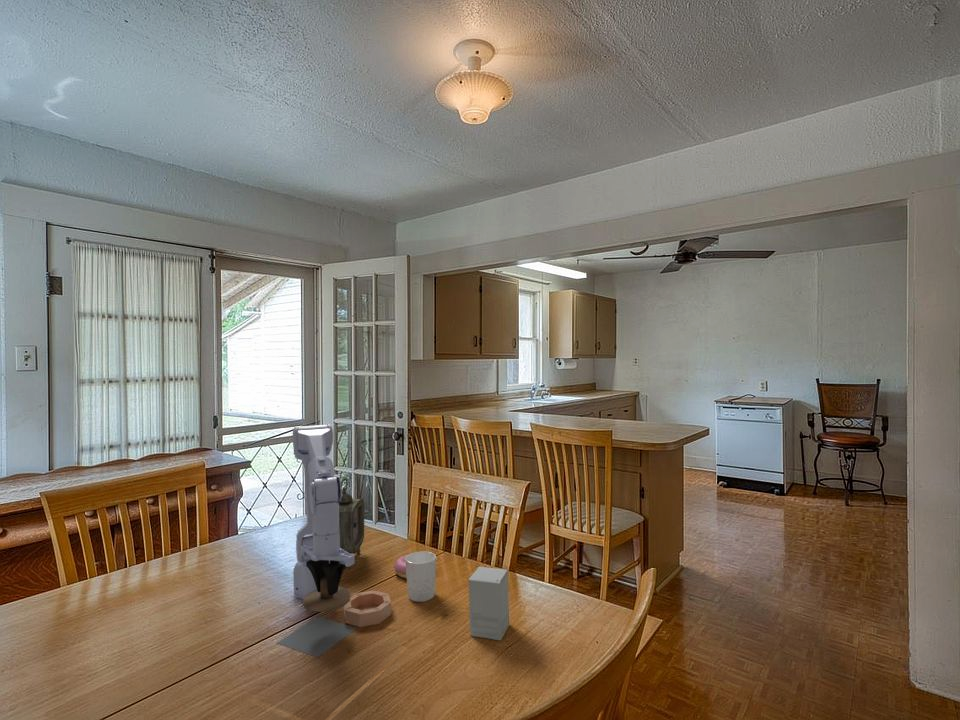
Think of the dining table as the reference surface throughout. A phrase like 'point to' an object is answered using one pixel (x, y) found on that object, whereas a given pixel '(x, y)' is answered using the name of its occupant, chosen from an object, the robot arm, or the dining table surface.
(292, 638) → the mat
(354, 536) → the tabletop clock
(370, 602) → the bowl
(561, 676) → the dining table surface
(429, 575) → the white cup
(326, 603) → the lid
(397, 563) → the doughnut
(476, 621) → the supplement box
